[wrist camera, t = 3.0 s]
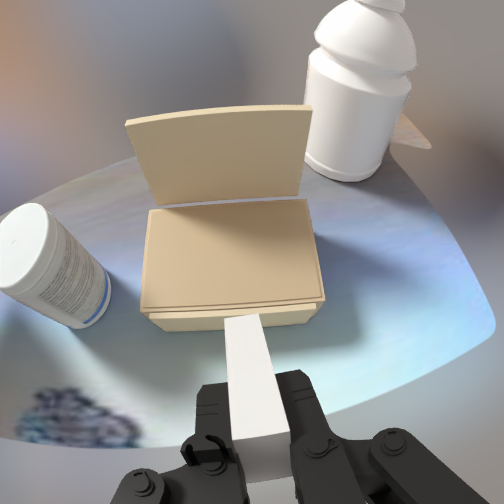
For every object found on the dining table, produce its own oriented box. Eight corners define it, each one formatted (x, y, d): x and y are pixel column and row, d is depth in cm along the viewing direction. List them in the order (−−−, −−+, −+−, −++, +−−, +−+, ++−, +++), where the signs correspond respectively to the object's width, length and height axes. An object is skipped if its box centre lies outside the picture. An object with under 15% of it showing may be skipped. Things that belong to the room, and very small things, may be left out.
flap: (157, 205, 33) (124, 125, 22) (158, 198, 33) (127, 119, 23) (297, 195, 33) (312, 110, 23) (296, 189, 34) (310, 103, 23)
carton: (157, 332, 32) (139, 318, 27) (162, 236, 38) (149, 209, 33) (314, 322, 33) (326, 306, 27) (299, 226, 39) (306, 198, 33)
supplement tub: (107, 253, 37) (53, 185, 24) (120, 318, 33) (52, 268, 20) (52, 276, 35) (-11, 222, 22) (59, 339, 31) (-18, 301, 18)
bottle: (393, 177, 43) (459, 24, 18) (318, 192, 41) (362, -2, 17) (353, 122, 49) (387, -15, 24) (284, 130, 48) (297, -28, 23)
